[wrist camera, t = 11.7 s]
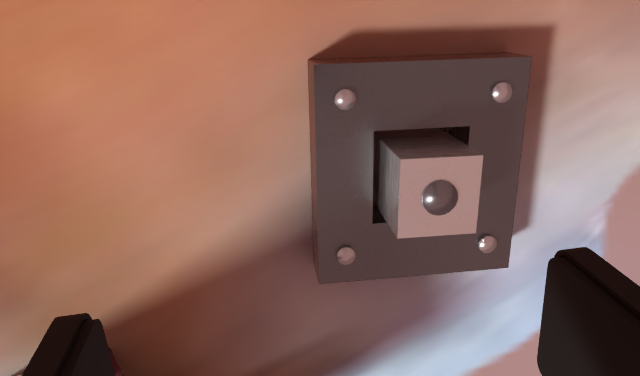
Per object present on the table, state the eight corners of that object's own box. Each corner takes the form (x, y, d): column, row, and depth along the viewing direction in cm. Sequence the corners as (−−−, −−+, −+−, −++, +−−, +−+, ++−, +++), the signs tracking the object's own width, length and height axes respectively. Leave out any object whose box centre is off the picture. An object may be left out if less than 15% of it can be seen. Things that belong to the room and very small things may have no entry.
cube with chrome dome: (371, 130, 34) (401, 160, 27) (438, 127, 34) (484, 156, 28) (369, 196, 35) (398, 239, 29) (434, 192, 36) (477, 234, 29)
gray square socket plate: (307, 59, 32) (314, 65, 29) (507, 52, 33) (534, 57, 30) (313, 262, 36) (319, 286, 33) (488, 248, 38) (510, 269, 35)
